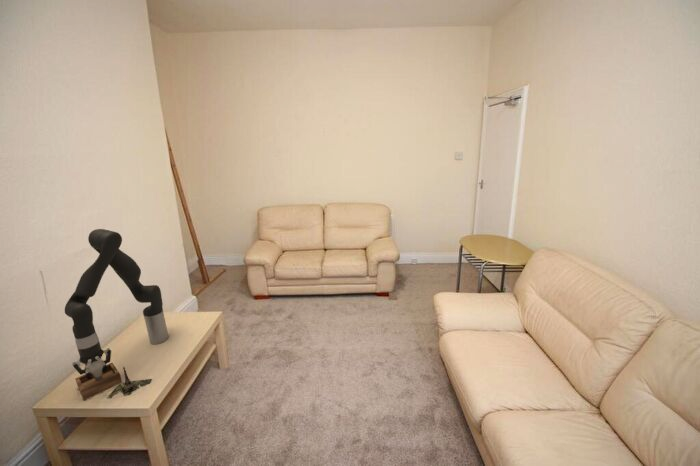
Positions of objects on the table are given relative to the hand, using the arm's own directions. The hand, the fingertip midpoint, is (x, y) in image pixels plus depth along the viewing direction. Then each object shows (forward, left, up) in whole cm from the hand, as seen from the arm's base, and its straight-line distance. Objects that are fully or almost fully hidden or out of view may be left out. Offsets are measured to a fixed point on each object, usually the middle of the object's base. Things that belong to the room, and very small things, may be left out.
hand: (97, 375), depth 141 cm
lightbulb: (0, 0, -3) cm, 3 cm away
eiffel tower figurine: (+14, +8, -6) cm, 18 cm away
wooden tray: (0, 0, -5) cm, 5 cm away
